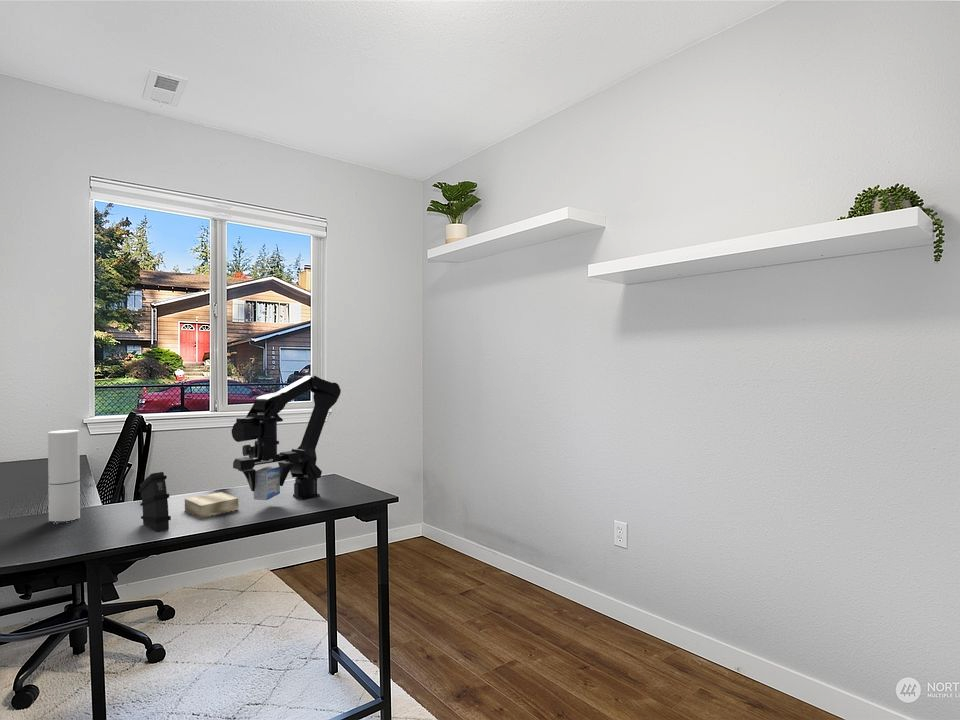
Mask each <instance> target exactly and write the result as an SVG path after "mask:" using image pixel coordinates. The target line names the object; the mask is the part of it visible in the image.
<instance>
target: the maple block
mask: <svg viewBox="0 0 960 720" xmlns="http://www.w3.org/2000/svg"><path fill="white" fill-rule="evenodd" d="M235 510H237V511H239V497H236V496H233V495H231V494H228V493H225V492H222V491H220V492H219V491H218V492H214V493H208V494H204V495H197V496H193V497H188V498H184V511H185V512H187V513H188V512H189V514H190V513H191V514H190V515H193V516H195V517H197V516H198V517H197V518H199V517H200V519H203V518H202V517H204V518H208V517H207V516H209V517H212V516H211V515H213V516H216V514H218V515H222V513H223V514H226V512H227V513H231V512H230V511H232V512H235Z"/></svg>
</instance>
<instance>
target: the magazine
mask: <svg viewBox="0 0 960 720" xmlns="http://www.w3.org/2000/svg"><path fill="white" fill-rule="evenodd" d="M166 479H167V475H165V474H164V471H160V472H154V473H153V472H152V473H150V474H149V475H148V476H147V477H146V478H145V479H144V480H143V481H142V482H141V483H139V489H138V493H140V495H141V503H140V504H139V505H140V507H142V515H140V519H142V524H143V525H144V526H146V527H148V528H150V529H151V530H153V531H155V532H157V533H160V532H164V531H168V530H169V529H170V527H169V526H170V524H169V523H170V522H169V521H171V520H172V519H171V518H172V516H171V515H169V500H168V499H170V493H168V492H167V484H166Z"/></svg>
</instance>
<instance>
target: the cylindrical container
mask: <svg viewBox="0 0 960 720" xmlns="http://www.w3.org/2000/svg"><path fill="white" fill-rule="evenodd" d="M47 454H48V455H47V459H48V460H47V462H48V464H47V466H48V467H47V471H48V472H47V473H48V474H47V476H48V477H47V478H48V483H47V485H48V488H47V489H48V491H47V492H48V522H49V521H55V522H56V521H70V520H75V519H78V518H79V519H81V489H80V488H81V486H80V485H81V479H80V477H81V476H80V475H81V473H80V472H81V471H80V470H81V469H80V467H81V465H80V463H81V461H80V460H81V459H80V430H79V429H60V430H52V431H48V432H47ZM79 519H78V520H79ZM75 521H76V520H75Z"/></svg>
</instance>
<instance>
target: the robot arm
mask: <svg viewBox="0 0 960 720" xmlns="http://www.w3.org/2000/svg"><path fill="white" fill-rule="evenodd" d="M341 391H342V390H341V388H340V385H339V384H338V382H331V381H328V380H325V379H322V378H321V377H318V376H317V375H304V376H303V377H301V378H300V379H298V380H296V381H294V382H292V383H291V384H289V385H287V386H285V387H284V388H281V389H280V390H278V391H275V392H271V393H266V394H262V395H260V396H257V397H256V398H255V399H254V401H253V405H252V406H251V408H250V410H249V411H248V413H247V415H246V416H245V417H237V418H236V419H235V420H236V422H235V423H234V424H233V426H232V429H231V436H232V438H233V441H235V442H237V443H240V442H247V441H254V445H253V446H251V444H244V445H242V452H241V453H242V455H243V457H239V458H234V460H233V462H232V468H233V469H235V470H237V471H239V472H242V473H243V475H244V476H245V478H246V481H247V483H248V485H249V488H250V491H251V492H254V489H255V473H256V471H257V470H256V469H254V468H255V466H259V465H264V464H265V465H266V464H272V463H277V464H278V467H280V487H283V486H284V484H285V481H286V479H287V477H288V476H289V473H290V475H291V477H292V478H294V483H293V494H292V497H294V498H297V499H300V500H306V499H310V498H317V497H319V496H321V495H320V493H318V479H320V478H321V476H322V474H323V473H322V472H323V471H322V470H321V469H320V467H318V465H317V452H316V448H317V446H318V442H319V439H320V436H321V433H322V431H323V428H324V425H325V422H326V419H327V417H328V413H329V411H330V409H331V408H332V407H333V406H334V405H335V404H336V403H337V402H338V399H339V397H340V395H341ZM307 392H311V393H313V402H314V403H313V404H314V406H313V409H312V412H311V415H310V418H309V420H308V423H307V424H306V425H307V426H306V429H305V431H304V434H303V438H302V440H301V443H300V445H299V446H298V447H297V448H292V449H291V451H290V450H287V451H281V452H279V453H278V445H280V441H279V440H278V423H279V422H284V419H283V418H282V417H280V415H279V413H281V411H282V410H283V411H284V408H285V407H286V405H287V404H288V403H289V402H291V401H293V400H294V399H296V398H299V397H300V396H301V395H304V394H305V393H307Z"/></svg>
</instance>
